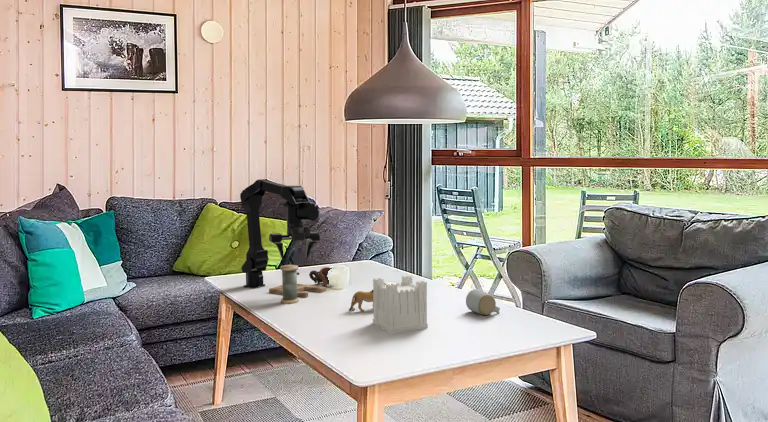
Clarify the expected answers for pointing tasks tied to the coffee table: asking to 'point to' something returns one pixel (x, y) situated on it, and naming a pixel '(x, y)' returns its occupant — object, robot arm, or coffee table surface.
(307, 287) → the wooden plank structure
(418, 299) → the castle model
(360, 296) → the lion figurine
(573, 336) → the coffee table surface
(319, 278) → the winged dragon figurine
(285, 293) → the cord spool
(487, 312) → the ceramic mug
